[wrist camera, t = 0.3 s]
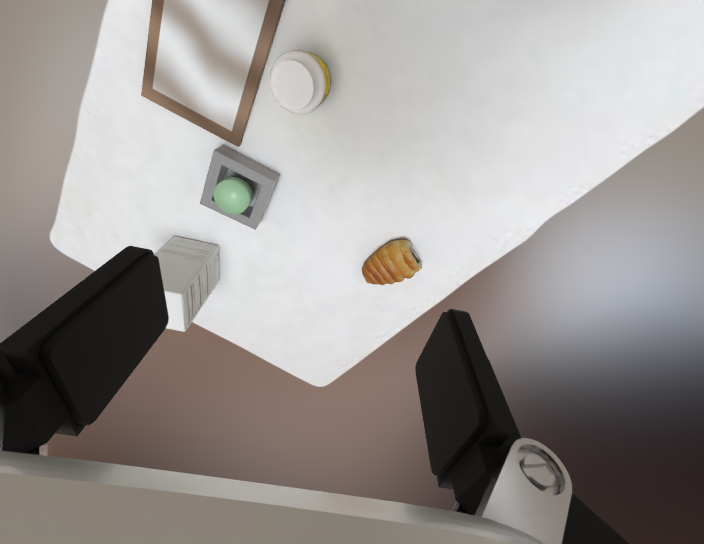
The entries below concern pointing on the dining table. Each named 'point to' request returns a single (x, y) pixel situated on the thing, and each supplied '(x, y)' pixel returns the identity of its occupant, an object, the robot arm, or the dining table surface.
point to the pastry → (392, 263)
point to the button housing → (248, 169)
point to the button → (233, 195)
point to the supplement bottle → (300, 81)
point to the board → (209, 59)
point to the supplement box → (187, 278)
